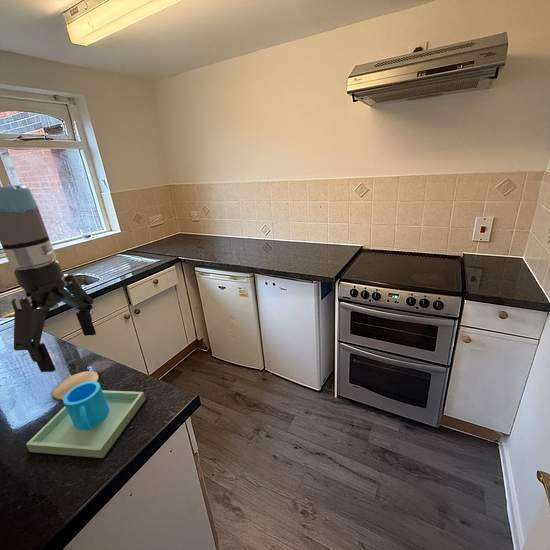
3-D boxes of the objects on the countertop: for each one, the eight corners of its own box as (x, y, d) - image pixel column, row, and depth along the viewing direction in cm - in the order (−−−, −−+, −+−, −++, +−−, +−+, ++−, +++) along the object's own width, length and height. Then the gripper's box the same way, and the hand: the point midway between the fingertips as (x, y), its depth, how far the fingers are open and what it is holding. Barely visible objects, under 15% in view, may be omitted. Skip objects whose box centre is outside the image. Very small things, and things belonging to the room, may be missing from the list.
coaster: (43, 399, 87) (42, 398, 87) (74, 371, 98) (74, 370, 98) (79, 400, 85) (78, 399, 85) (107, 372, 96) (106, 371, 96)
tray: (29, 452, 70) (25, 444, 69) (84, 396, 86) (81, 389, 85) (103, 458, 67) (99, 450, 66) (146, 398, 83) (143, 391, 82)
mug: (75, 413, 80) (64, 389, 77) (109, 400, 83) (100, 376, 80) (71, 447, 70) (59, 421, 67) (110, 430, 73) (99, 405, 70)
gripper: (-5, 288, 49) (43, 390, 57) (91, 245, 72) (117, 322, 80) (-46, 291, 50) (7, 391, 57) (63, 248, 73) (90, 323, 80)
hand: (71, 351), depth 69 cm, fingers open, 13 cm apart
